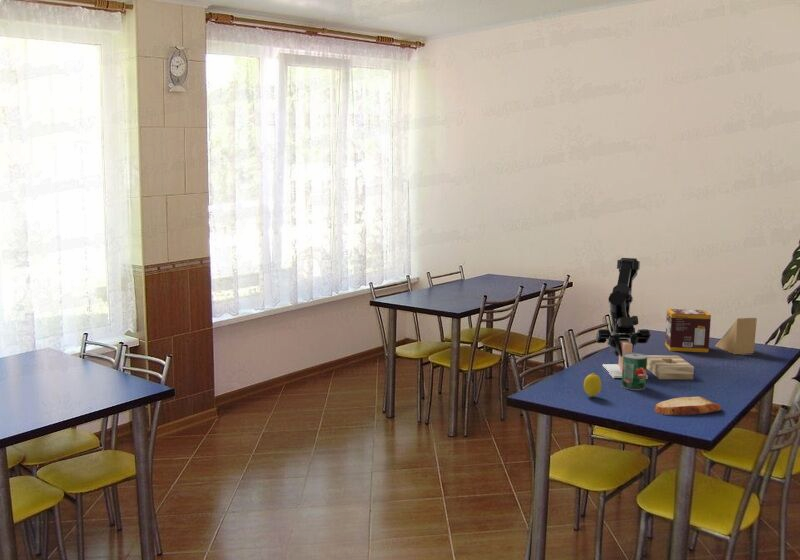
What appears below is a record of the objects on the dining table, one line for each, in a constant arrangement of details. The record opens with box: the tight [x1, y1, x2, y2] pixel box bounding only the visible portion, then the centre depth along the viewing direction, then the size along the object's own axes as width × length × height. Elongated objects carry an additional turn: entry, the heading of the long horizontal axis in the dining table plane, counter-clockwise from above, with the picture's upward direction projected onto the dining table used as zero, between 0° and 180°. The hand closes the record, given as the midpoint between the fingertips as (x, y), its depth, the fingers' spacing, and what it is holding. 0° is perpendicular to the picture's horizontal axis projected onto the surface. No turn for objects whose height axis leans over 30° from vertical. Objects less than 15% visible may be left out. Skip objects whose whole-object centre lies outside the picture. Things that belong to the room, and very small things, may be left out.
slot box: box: [645, 354, 695, 380], centre depth 283 cm, size 16×12×4 cm
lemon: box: [583, 372, 602, 398], centre depth 254 cm, size 6×6×8 cm
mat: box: [601, 363, 649, 380], centre depth 284 cm, size 16×12×1 cm
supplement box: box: [664, 308, 712, 353], centre depth 320 cm, size 10×15×16 cm
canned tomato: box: [621, 352, 648, 391], centre depth 265 cm, size 8×8×11 cm
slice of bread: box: [653, 396, 722, 416], centre depth 242 cm, size 18×18×4 cm
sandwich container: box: [714, 317, 758, 355], centre depth 319 cm, size 9×15×15 cm, turn 9°
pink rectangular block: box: [618, 340, 634, 369], centre depth 283 cm, size 6×3×10 cm, turn 0°
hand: (626, 356), depth 282 cm, fingers open, 3 cm apart
